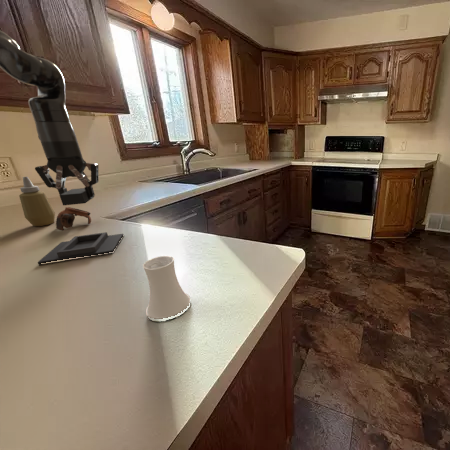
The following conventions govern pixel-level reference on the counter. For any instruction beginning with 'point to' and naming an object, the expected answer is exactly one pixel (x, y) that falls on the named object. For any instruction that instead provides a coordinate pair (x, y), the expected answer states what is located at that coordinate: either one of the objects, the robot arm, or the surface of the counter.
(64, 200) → the dark grey block
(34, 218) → the squeeze bottle
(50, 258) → the base pad
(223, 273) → the counter surface
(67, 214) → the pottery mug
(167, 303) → the vase
